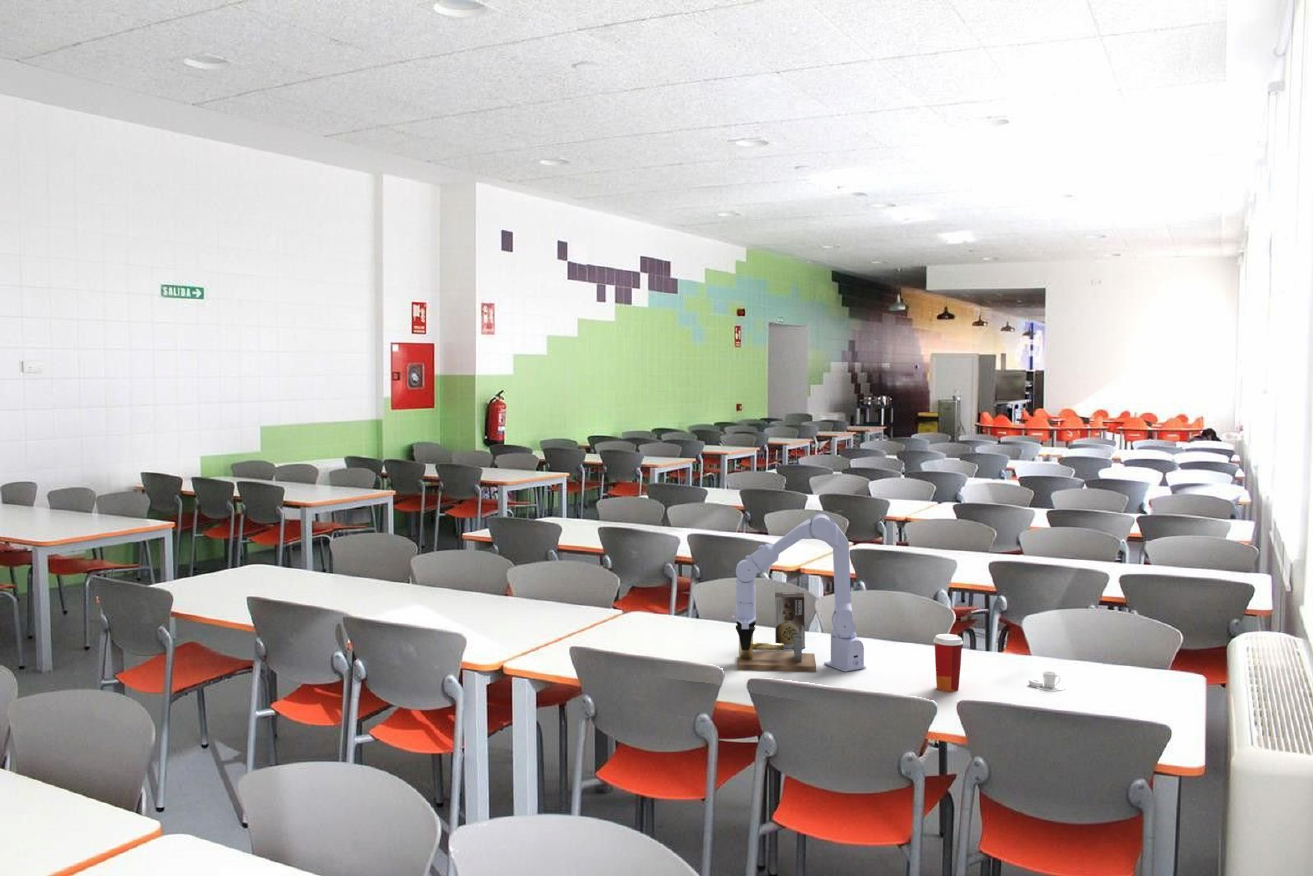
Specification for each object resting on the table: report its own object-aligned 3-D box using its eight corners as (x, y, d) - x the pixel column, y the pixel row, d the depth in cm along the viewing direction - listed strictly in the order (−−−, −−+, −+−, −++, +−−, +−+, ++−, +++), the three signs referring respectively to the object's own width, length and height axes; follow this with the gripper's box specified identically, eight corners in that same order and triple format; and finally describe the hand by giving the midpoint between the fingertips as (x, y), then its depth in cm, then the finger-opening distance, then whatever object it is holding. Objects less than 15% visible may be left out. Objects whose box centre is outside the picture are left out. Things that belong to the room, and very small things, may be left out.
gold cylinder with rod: (783, 656, 301) (784, 628, 301) (784, 659, 297) (784, 631, 297) (739, 655, 303) (739, 627, 302) (738, 658, 299) (738, 630, 298)
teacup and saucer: (1025, 687, 278) (1025, 672, 278) (1038, 681, 283) (1038, 666, 283) (1056, 694, 272) (1057, 679, 271) (1070, 688, 277) (1070, 673, 277)
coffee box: (804, 643, 323) (804, 592, 322) (805, 648, 317) (805, 596, 316) (774, 642, 324) (775, 591, 323) (775, 648, 318) (775, 596, 317)
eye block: (814, 658, 306) (814, 630, 305) (816, 671, 292) (816, 642, 291) (739, 656, 308) (739, 628, 307) (738, 669, 294) (738, 640, 294)
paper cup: (957, 684, 279) (957, 633, 279) (966, 693, 272) (967, 640, 271) (928, 684, 279) (929, 633, 278) (937, 693, 271) (937, 640, 271)
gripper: (732, 596, 307) (732, 641, 308) (731, 606, 293) (730, 654, 294) (756, 596, 307) (756, 642, 307) (756, 607, 292) (755, 654, 293)
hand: (745, 648), depth 301 cm, fingers closed on gold cylinder with rod, 4 cm apart
